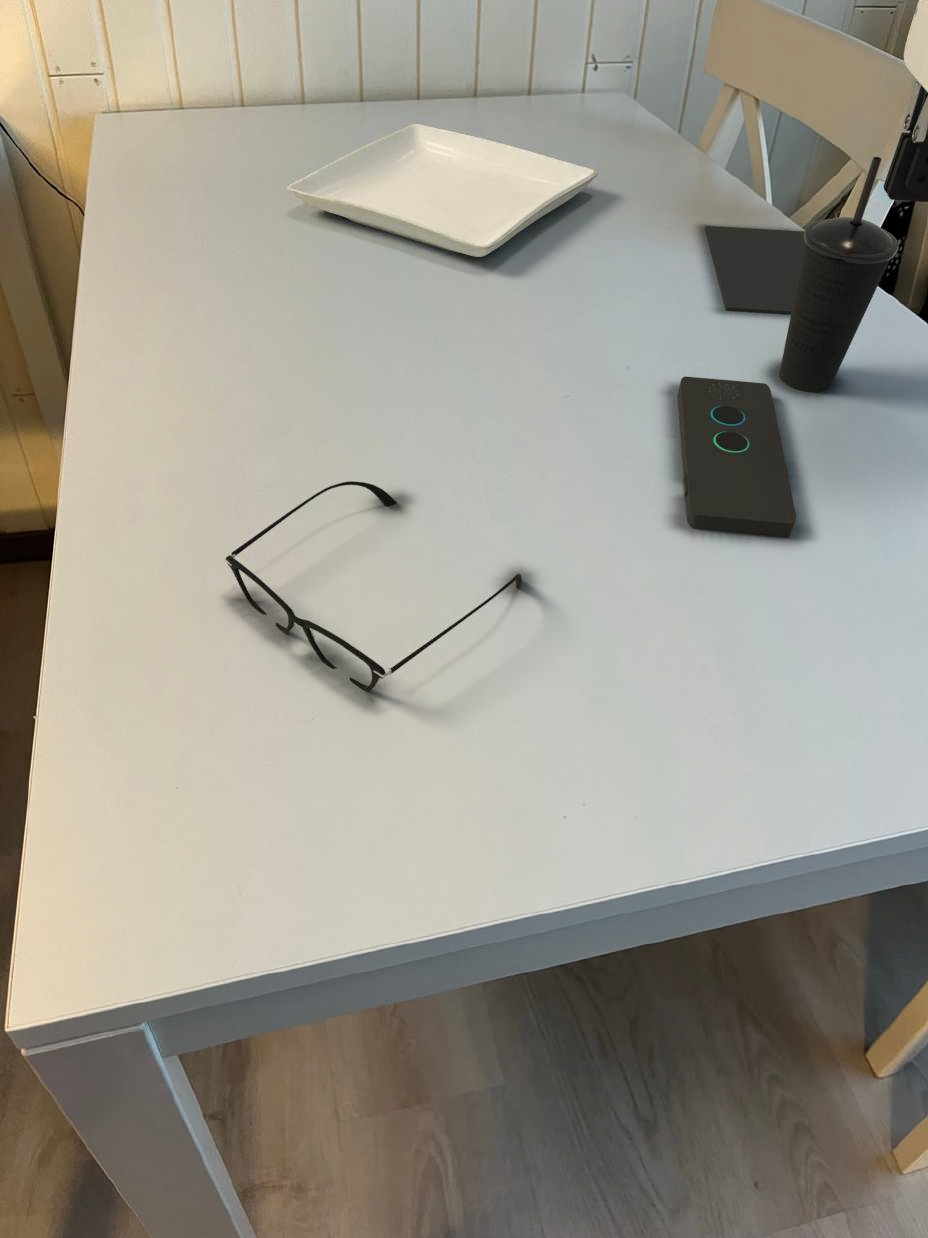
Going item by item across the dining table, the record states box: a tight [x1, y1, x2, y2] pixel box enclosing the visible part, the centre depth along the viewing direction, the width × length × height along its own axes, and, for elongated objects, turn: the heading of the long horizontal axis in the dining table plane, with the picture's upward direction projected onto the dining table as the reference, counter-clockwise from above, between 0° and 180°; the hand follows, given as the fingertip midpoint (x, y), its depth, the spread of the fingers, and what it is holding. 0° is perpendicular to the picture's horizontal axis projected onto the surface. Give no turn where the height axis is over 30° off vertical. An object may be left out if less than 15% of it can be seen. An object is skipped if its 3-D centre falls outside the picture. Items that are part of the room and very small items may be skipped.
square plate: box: [286, 123, 599, 258], centre depth 114 cm, size 27×27×4 cm
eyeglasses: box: [224, 480, 523, 692], centre depth 66 cm, size 16×16×4 cm
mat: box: [704, 225, 805, 316], centre depth 105 cm, size 20×12×1 cm, turn 176°
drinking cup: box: [778, 156, 899, 393], centre depth 83 cm, size 8×8×20 cm
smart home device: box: [677, 376, 797, 539], centre depth 80 cm, size 8×2×20 cm
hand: (907, 195), depth 69 cm, fingers closed
